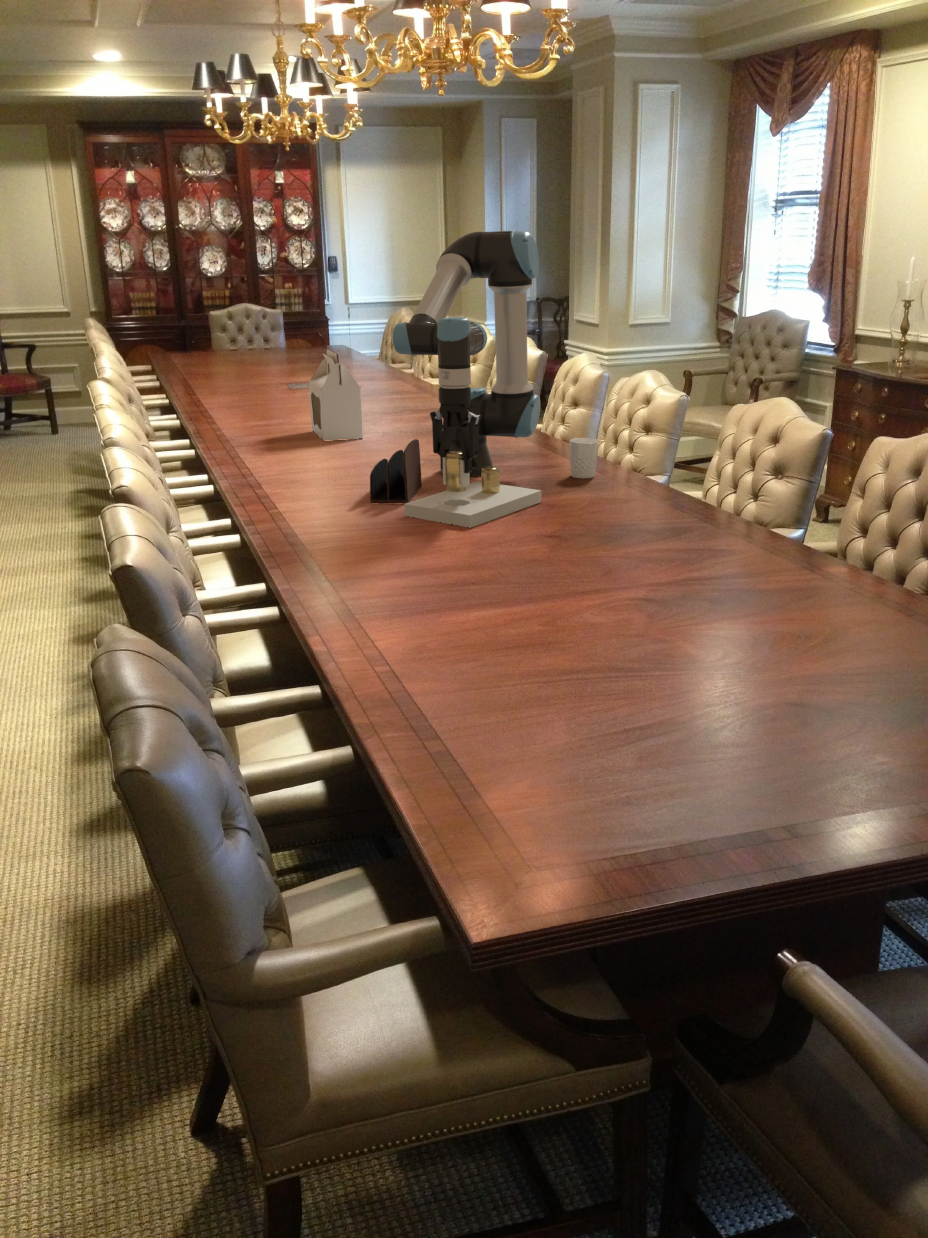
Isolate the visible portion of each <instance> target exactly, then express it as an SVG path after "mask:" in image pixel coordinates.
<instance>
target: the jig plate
mask: <svg viewBox="0 0 928 1238" xmlns="http://www.w3.org/2000/svg"><path fill="white" fill-rule="evenodd" d="M539 503H542V490H540V489H535V488H534V489H533V488H527V487H520V486H515V485H507V484H501V483H500V492H499V493H494V494H486V493H482V481H480V480H477V481H473V482H470V485H469V486H466V491H463V492H450V491H447V490H444V491H442V492H438V493H433V494H432V495H429V496H424V497H421V498H419V499H415V500H413V501H410V502H409V503H405V504H403V509H404V511H403V513H404V517H407V516H409V518H413V517H415V518H414V519H418V518H419V519H420V520H425V521H429V522H436V523H440V522H441V523H442V524H446V525H451V524H453V525H452V526H457V525H458V527H464V528H468V527H469V529H471V527H472V528H474V527H477V526H479V525H482V524H486V523H488V522H490V521H492V520H497V519H499V518H501V517H504V516H506V515H510V514H513V513H515V512H518V511H520V510H524V509H526V508H529V507H532V506H534V505H537V504H539ZM441 523H440V524H441Z"/></svg>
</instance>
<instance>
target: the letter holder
mask: <svg viewBox="0 0 928 1238" xmlns="http://www.w3.org/2000/svg"><path fill="white" fill-rule="evenodd" d="M420 449H421V448H420V441H419V439H417V438H416V439H415V438H414V439H413V440H411V441H410V442H409V443H408V444H407V445H406V447H405V449H404V450H403V449H399V450H396V451H395V452H394V453H393V454H392V455H391V457H390V458H389V459H387V458H383V459H381V460H379V461H378V462H377V463H376V464H375V465H374V466H373V468H372V470H371V471H370V474H369V497H370V498H369V499H370V500H369V501H370V502H369V503H370V504H371V503H409V502H411V500H412V499H413V498H414V497H415V496H416V494H417V493H418V492H419V491H420V489H421V488H422V486H423V484H422V468H421V467H422V466H421V451H420ZM414 495H415V496H414Z"/></svg>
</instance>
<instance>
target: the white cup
mask: <svg viewBox="0 0 928 1238" xmlns="http://www.w3.org/2000/svg"><path fill="white" fill-rule="evenodd" d="M598 450H599V439H597V438H591V437H577V438H570V440H569V461H570V476H571V477H572V478H576V479H591V478H595V477H596V472H597V471H596V470H597V464H598V455H599V453H598Z"/></svg>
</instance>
